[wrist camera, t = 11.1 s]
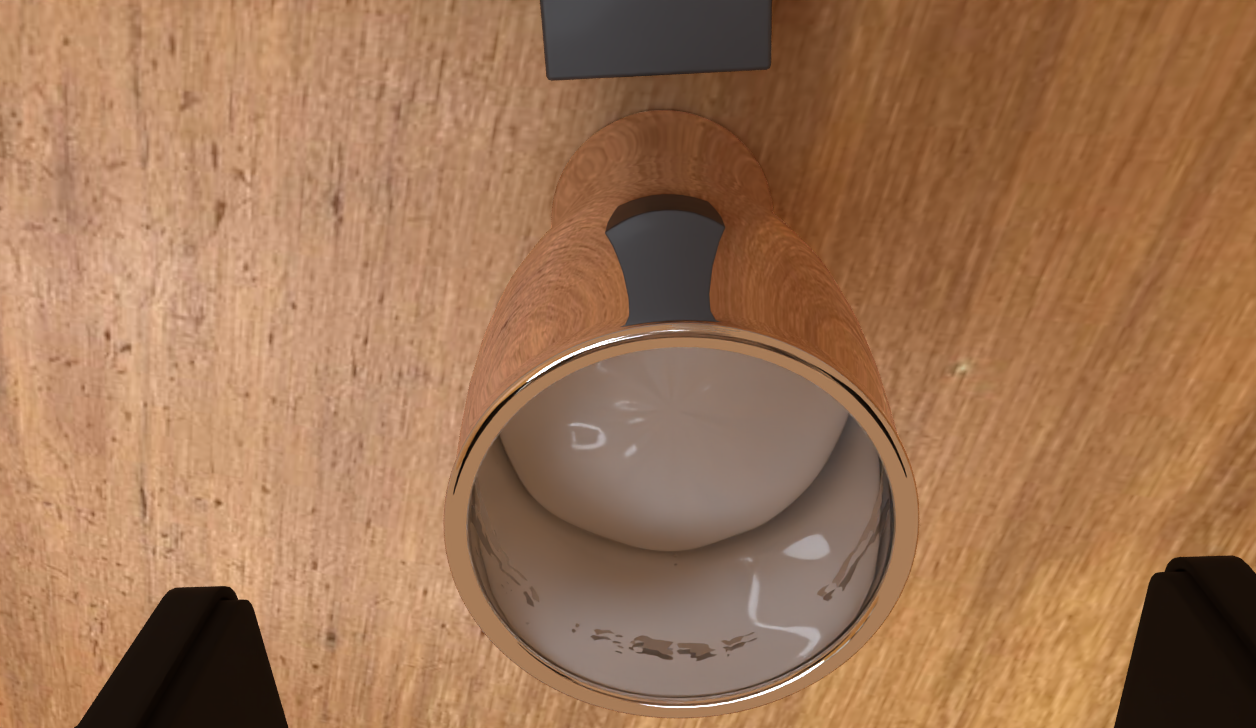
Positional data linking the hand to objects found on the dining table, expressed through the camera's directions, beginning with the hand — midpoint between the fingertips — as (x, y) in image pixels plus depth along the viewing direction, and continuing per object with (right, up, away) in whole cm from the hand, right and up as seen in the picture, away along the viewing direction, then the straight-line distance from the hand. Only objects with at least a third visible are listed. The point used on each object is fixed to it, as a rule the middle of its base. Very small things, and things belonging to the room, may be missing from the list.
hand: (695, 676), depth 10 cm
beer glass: (0, +7, +17) cm, 18 cm away
